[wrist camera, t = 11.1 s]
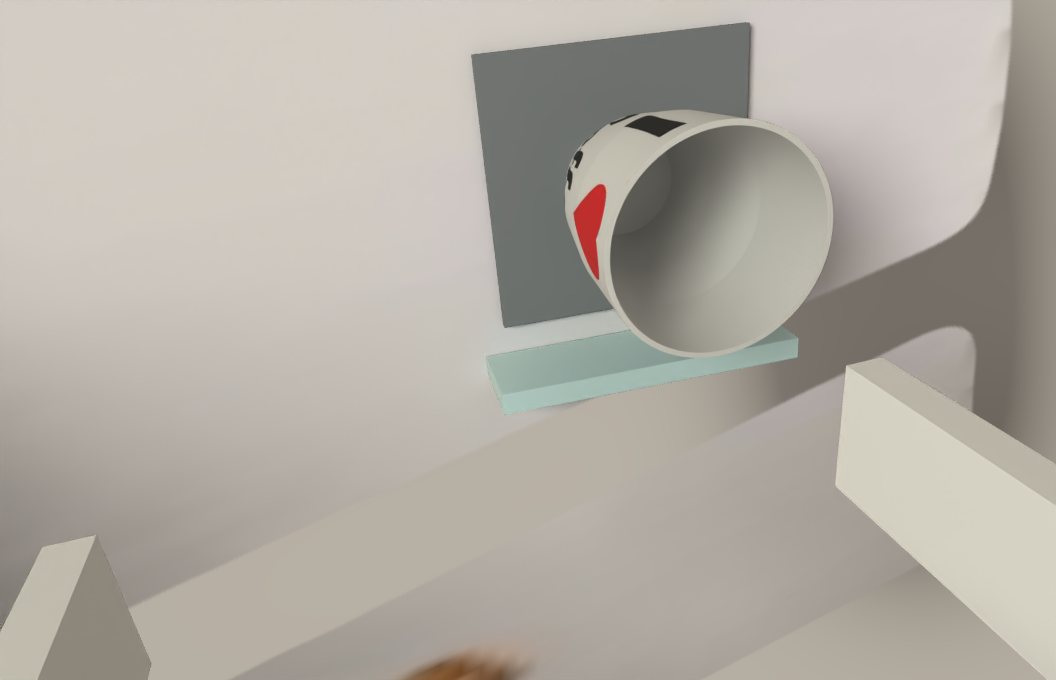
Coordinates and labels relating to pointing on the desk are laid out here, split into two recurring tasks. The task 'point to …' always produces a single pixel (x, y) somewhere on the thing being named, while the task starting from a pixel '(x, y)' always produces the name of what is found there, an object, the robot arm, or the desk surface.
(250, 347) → the desk surface
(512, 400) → the wall
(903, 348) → the desk surface
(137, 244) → the desk surface
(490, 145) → the mat
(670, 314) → the cup
